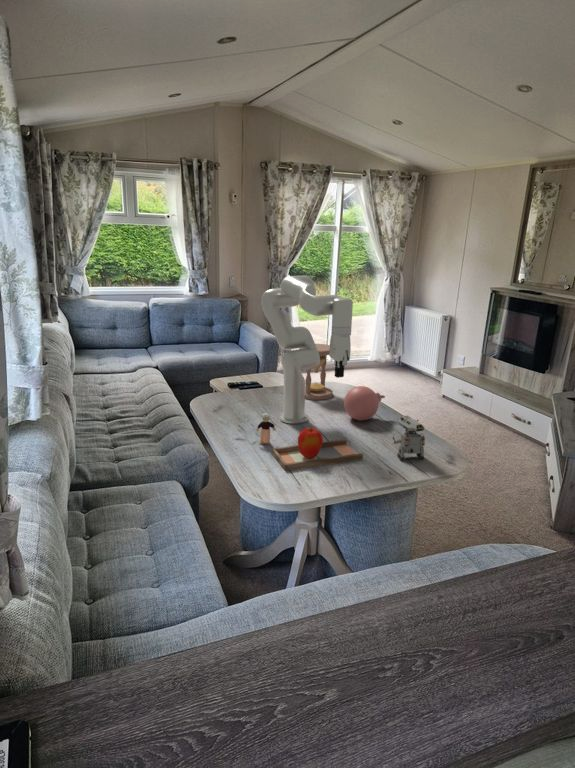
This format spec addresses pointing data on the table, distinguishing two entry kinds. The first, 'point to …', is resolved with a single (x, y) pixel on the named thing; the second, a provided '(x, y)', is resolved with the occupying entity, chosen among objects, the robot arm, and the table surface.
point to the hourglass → (316, 389)
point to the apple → (310, 442)
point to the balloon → (362, 403)
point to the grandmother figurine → (265, 429)
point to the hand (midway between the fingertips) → (339, 376)
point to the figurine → (410, 438)
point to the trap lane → (327, 455)
